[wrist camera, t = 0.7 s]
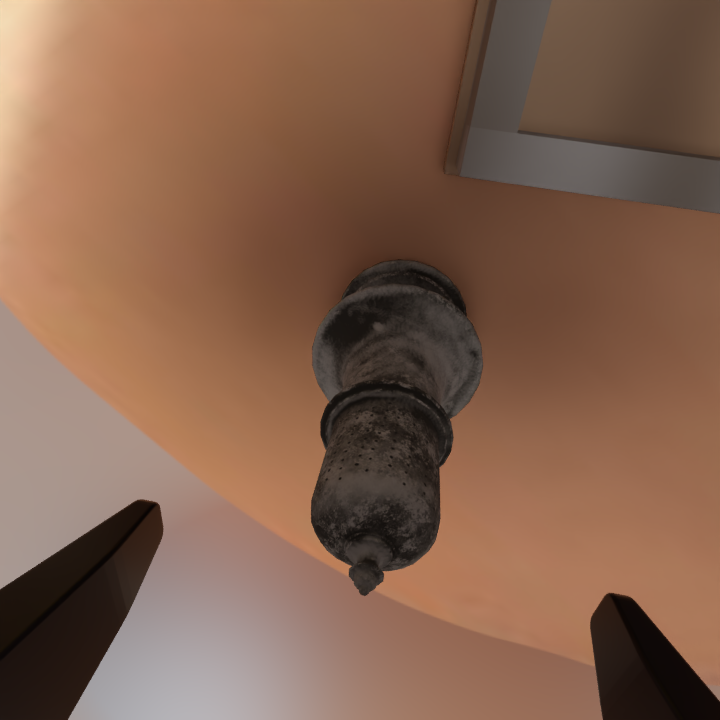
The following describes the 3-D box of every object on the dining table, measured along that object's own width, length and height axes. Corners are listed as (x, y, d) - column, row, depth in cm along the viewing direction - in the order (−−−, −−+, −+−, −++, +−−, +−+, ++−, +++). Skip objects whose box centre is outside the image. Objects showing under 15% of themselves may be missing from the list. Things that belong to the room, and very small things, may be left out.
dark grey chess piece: (451, 395, 20) (471, 705, 10) (322, 366, 20) (209, 640, 10) (494, 270, 17) (588, 527, 7) (342, 237, 17) (212, 439, 7)
